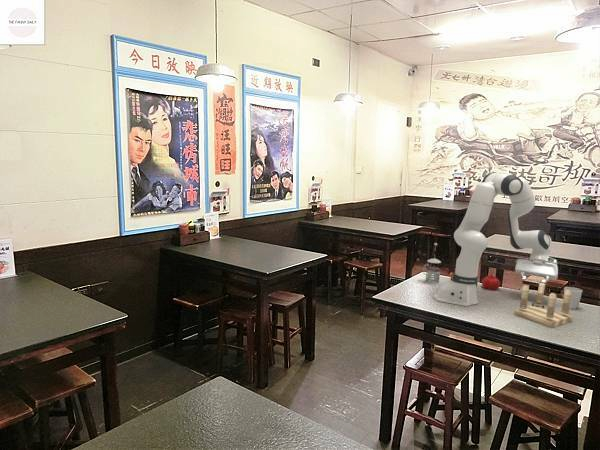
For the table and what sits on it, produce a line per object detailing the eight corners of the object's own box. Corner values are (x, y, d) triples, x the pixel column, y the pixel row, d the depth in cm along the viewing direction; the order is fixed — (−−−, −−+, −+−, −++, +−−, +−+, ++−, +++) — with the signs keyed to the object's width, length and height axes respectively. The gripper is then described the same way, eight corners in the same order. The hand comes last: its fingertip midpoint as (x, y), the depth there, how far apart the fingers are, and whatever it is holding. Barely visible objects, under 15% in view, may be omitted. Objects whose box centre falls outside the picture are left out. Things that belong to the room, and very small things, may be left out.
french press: (444, 285, 252) (447, 244, 248) (427, 286, 249) (430, 244, 245) (434, 280, 262) (438, 241, 258) (418, 281, 259) (421, 241, 255)
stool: (551, 327, 192) (555, 295, 190) (513, 314, 208) (517, 284, 205) (572, 321, 201) (576, 290, 199) (534, 308, 217) (538, 279, 214)
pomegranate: (491, 292, 243) (492, 276, 241) (477, 286, 252) (479, 272, 250) (503, 290, 247) (505, 275, 246) (489, 285, 256) (491, 270, 254)
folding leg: (541, 303, 211) (545, 281, 214) (535, 301, 213) (539, 280, 216) (542, 304, 213) (546, 283, 217) (535, 303, 215) (539, 282, 218)
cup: (582, 310, 217) (585, 292, 215) (565, 309, 218) (567, 290, 216) (575, 305, 224) (578, 287, 223) (559, 304, 226) (561, 286, 224)
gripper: (517, 254, 233) (511, 274, 227) (560, 260, 221) (555, 282, 215) (517, 260, 237) (512, 281, 231) (559, 267, 225) (555, 289, 219)
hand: (533, 281), depth 223 cm, fingers open, 8 cm apart
